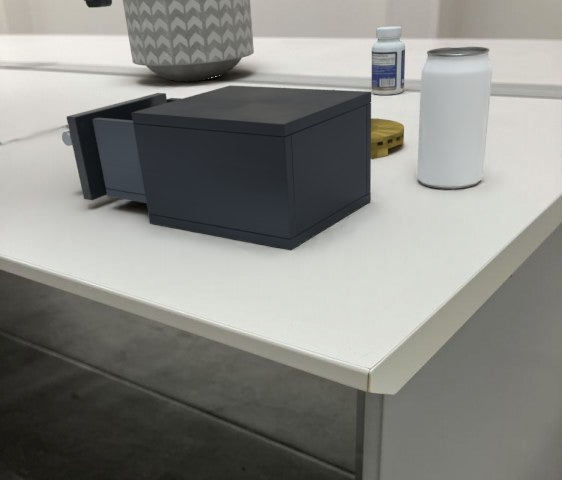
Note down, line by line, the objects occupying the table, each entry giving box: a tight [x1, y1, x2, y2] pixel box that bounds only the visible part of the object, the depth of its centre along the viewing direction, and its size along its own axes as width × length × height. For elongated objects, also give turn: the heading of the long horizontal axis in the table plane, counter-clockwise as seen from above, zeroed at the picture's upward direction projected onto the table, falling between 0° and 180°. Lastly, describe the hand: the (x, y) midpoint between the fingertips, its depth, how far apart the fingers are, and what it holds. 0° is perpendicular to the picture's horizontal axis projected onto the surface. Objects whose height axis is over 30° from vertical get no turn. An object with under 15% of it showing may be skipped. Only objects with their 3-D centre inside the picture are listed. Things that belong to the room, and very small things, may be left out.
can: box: [416, 46, 493, 190], centre depth 66 cm, size 6×6×12 cm
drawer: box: [61, 92, 183, 204], centre depth 68 cm, size 20×13×8 cm, turn 56°
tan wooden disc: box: [371, 117, 405, 159], centre depth 83 cm, size 12×12×2 cm
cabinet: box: [131, 85, 372, 251], centre depth 62 cm, size 16×14×10 cm
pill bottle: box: [371, 25, 406, 96], centre depth 111 cm, size 5×5×10 cm
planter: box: [122, 0, 255, 82], centre depth 137 cm, size 25×25×24 cm
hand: (99, 6), depth 67 cm, fingers closed
